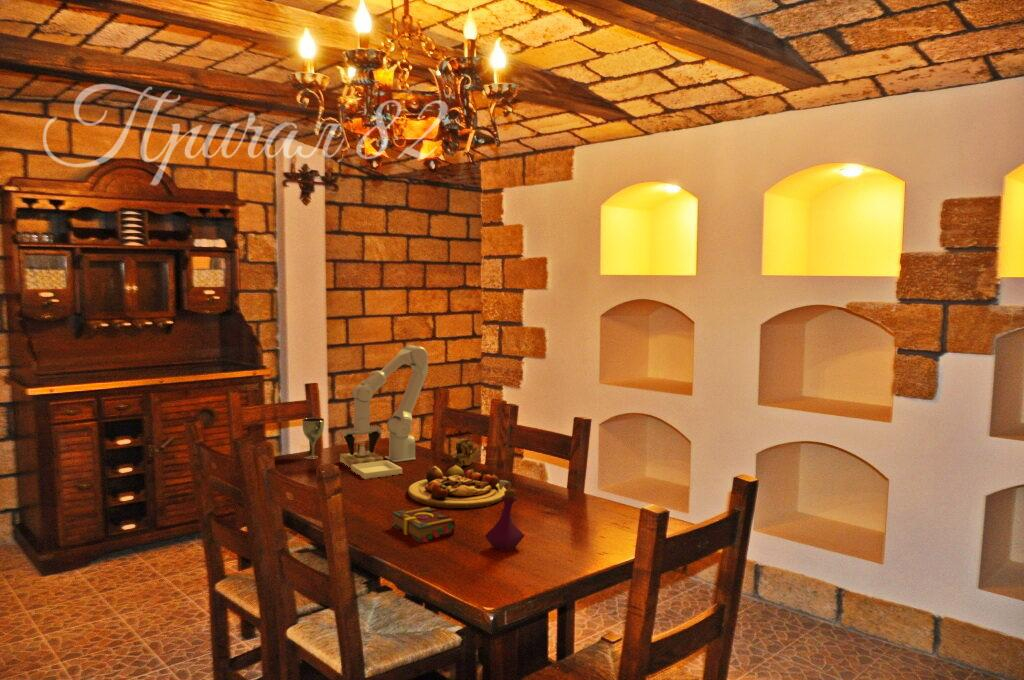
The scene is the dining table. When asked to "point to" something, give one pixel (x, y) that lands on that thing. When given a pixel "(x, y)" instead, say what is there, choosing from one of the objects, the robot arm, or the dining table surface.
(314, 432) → the wine glass
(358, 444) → the peg
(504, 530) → the perfume bottle
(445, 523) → the decorative book
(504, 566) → the dining table surface
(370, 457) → the hitch block
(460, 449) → the wooden carving
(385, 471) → the tray
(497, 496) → the wooden plate with food
